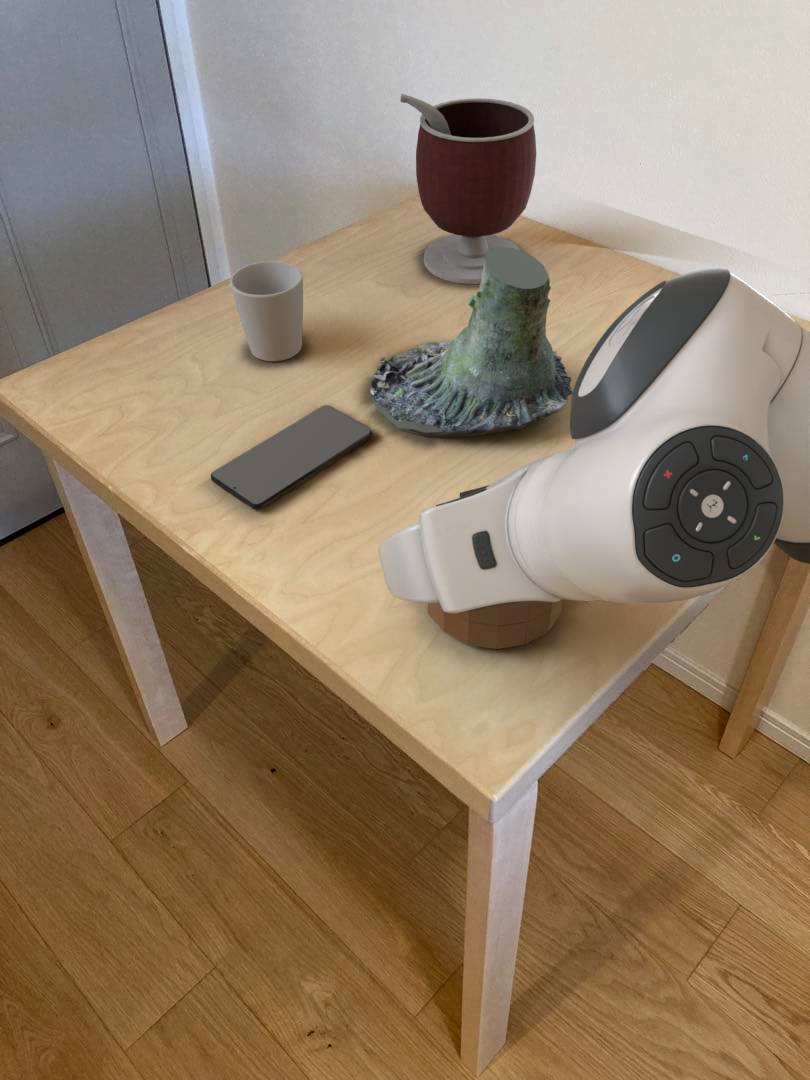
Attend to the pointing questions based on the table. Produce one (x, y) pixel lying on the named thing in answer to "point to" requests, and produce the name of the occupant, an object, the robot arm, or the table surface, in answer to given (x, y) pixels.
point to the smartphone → (290, 456)
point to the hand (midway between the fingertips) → (494, 537)
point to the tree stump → (481, 361)
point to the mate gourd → (472, 178)
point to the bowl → (498, 623)
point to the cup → (270, 308)
